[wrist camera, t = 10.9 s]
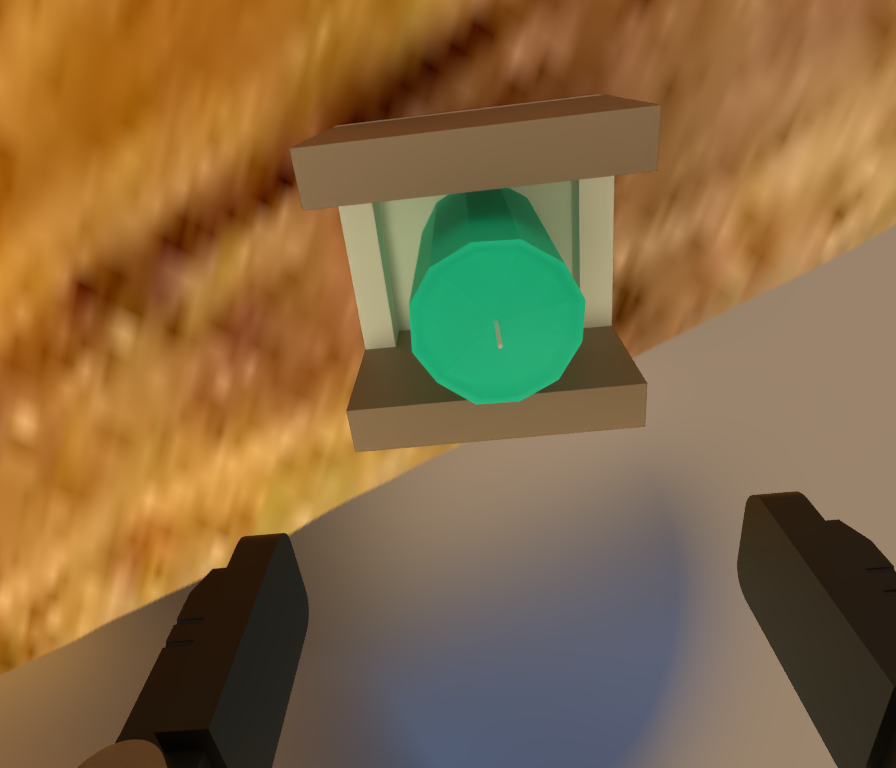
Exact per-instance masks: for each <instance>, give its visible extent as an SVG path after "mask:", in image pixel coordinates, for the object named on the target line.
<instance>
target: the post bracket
mask: <svg viewBox="0 0 896 768" xmlns="http://www.w3.org/2000/svg"><path fill="white" fill-rule="evenodd" d="M660 110H661V105H658V104H653V103H647V102H642V101H636V100H631V99H625V98H619V97H614V96H608V95H603V94H595V95H586V96H578V97H570V98H561V99H553V100H545V101H536V102H528V103H520V104H511V105H503V106H495V107H486V108H478V109H470V110H461V111H453V112H445V113H436V114H428V115H419V116H411V117H403V118H394V119H386V120H378V121H369V122H361V123H353V124H344V125H336V126H334V127H332V128H330V129H328V130H326V131H324V132H322V133H320V134H318V135H316V136H314V137H312V138H310V139H308V140H306V141H304V142H302V143H300V144H298V145H296V146H294V147H292V148H290V153H291V158H292V162H293V167H294V172H295V176H296V181H297V186H298V190H299V195H300V199H301V204H302V209H303V211H304V210H313V209H322V208H331V207H339V213H340V218H341V223H342V228H343V234H344V239H345V244H346V250H347V255H348V260H349V265H350V271H351V276H352V281H353V286H354V292H355V297H356V302H357V307H358V313H359V318H360V323H361V329H362V334H363V339H364V344H365V353H364V356H363V359H362V363H361V366H360V369H359V372H358V376H357V379H356V382H355V385H354V388H353V392H352V395H351V398H350V401H349V405H348V408H347V416H348V421H349V425H350V430H351V434H352V439H353V444H354V448H355V452H363V451H375V450H386V449H397V448H409V447H420V446H431V445H443V444H454V443H465V442H477V441H487V440H499V439H510V438H522V437H534V436H545V435H555V434H568V433H577V432H578V433H579V432H590V431H602V430H612V429H624V428H636V427H645V419H646V399H647V382H646V381H645V379H644V377H643V376H642V374H641V372H640V371H639V369H638V368H637V366H636V364H635V363H634V361H633V359H632V358H631V356H630V355H629V353H628V351H627V350H626V348H625V346H624V345H623V343H622V342H621V340H620V338H619V337H618V335H617V333H616V332H615V330H614V329H613V327H612V280H613V221H614V176H616V175H625V174H634V173H643V172H652V171H658V152H659V131H660ZM500 188H510V189H512V190H514V191H516V192H518V193H520V194H521V195H523V196H525V197H527V198H528V200H529V201H530V203H531V205H532V207H533V208H534V210H535V212H536V214H537V215H538V217H539V219H540V221H541V222H542V224H543V226H544V228H545V229H546V231H547V233H548V235H549V236H550V238H551V240H552V242H553V243H554V245H555V247H556V249H557V250H558V252H559V254H560V256H561V258H562V259H563V261H564V263H565V265H566V266H567V268H568V270H569V272H570V273H571V275H572V277H573V279H574V280H575V282H576V284H577V286H578V287H579V289H580V291H581V293H582V294H583V296H584V298H585V300H586V304H585V316H584V328H583V341H582V343H581V345H580V347H579V348H578V350H577V351H576V353H575V355H574V356H573V358H572V359H571V361H570V363H569V364H568V366H567V367H566V369H565V371H564V372H563V374H562V375H561V377H560V379H559V380H557V381H556V382H554V383H552V384H550V385H549V386H547V387H545V388H543V389H541V390H540V391H538V392H536V393H534V394H532V395H531V396H529V397H527V398H525V399H523V400H522V401H518V402H505V403H492V404H479V405H476V404H474V403H472V402H471V401H469V400H467V399H465V398H464V397H462V396H460V395H458V394H456V393H455V392H453V391H451V390H449V389H448V388H446V387H444V386H442V385H440V384H439V383H437V382H436V381H435V379H434V378H433V377H432V376H431V375H430V373H429V372H428V371H427V370H426V369H425V367H424V366H423V365H422V364H421V362H420V361H419V360H418V359H417V358H416V356H415V355H414V354H413V353H412V346H411V331H410V316H409V302H410V296H411V291H412V285H413V280H414V274H415V269H416V263H417V258H418V252H419V247H420V242H421V236H422V231H423V229H424V227H425V225H426V223H427V221H428V219H429V217H430V215H431V213H432V211H433V209H434V207H435V205H436V203H437V202H438V201H440V200H441V199H443V198H444V197H446V196H447V195H449V194H456V193H465V192H473V191H482V190H491V189H500Z"/></svg>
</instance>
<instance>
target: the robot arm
mask: <svg viewBox="0 0 896 768" xmlns="http://www.w3.org/2000/svg"><path fill="white" fill-rule="evenodd" d="M737 571H738V578H739V583H740V587H741V589H742V592H743V595H744V597H745V599H746V601H747V603H748V605H749V607H750V609H751V610H752V612H753V614H754V616H755V618H756V620H757V621H758V623H759V625H760V627H761V629H762V631H763V632H764V634H765V636H766V638H767V639H768V641H769V643H770V645H771V647H772V649H773V650H774V652H775V654H776V656H777V658H778V660H779V661H780V663H781V665H782V667H783V668H784V671H785V672H786V674H787V676H788V678H789V680H790V682H791V683H792V685H793V687H794V689H795V691H796V692H797V694H798V696H799V698H800V700H801V702H802V703H803V705H804V707H805V709H806V711H807V712H808V714H809V716H810V718H811V720H812V721H813V723H814V725H815V727H816V729H817V730H818V732H819V734H820V736H821V738H822V740H823V742H824V743H825V745H826V747H827V749H828V750H829V752H830V754H831V756H832V758H833V760H834V762H835V763H836V765H837V767H838V768H896V572H895V570H894V566H893V565H892V564H891V563H890V562H889V560H888V559H887V558H886V557H885V556H884V555H883V554H882V553H881V551H880V550H879V549H878V548H877V547H876V546H875V544H874V543H873V542H872V541H871V540H869V539H868V538H866V537H865V536H863V535H862V534H860V533H859V532H857V531H855V530H854V529H852V528H851V527H849V526H848V525H846V524H844V523H843V522H841V521H840V520H828V521H825V520H824V518H823V517H822V516H821V515H820V514H819V512H818V511H817V510H816V509H815V507H814V506H813V505H812V504H811V503H810V501H809V500H808V499H807V498H806V497H805V496H804V495H803V494H802V493H800V492H784V493H772V494H760V495H752V496H750V497H749V498H748V500H747V502H746V506H745V513H744V520H743V526H742V534H741V540H740V547H739V553H738V561H737ZM308 616H309V606H308V597H307V593H306V589H305V586H304V583H303V580H302V577H301V573H300V570H299V567H298V564H297V560H296V557H295V554H294V550H293V547H292V544H291V541H290V538H289V537H288V535H287V534H285V533H279V534H267V535H256V536H245V537H242V538H241V539H240V540H239V542H238V544H237V546H236V548H235V550H234V553H233V555H232V557H231V559H230V562H229V564H228V566H227V568H218V569H212V570H211V571H210V572H209V573H208V575H207V576H206V577H205V578H204V579H203V580H202V581H201V582H200V583H199V584H198V585H197V586H196V587H195V588H194V589H193V590H192V591H191V592H190V594H189V596H188V598H187V600H186V602H185V604H184V606H183V608H182V610H181V612H180V614H179V616H178V618H177V624H176V625H174V626H173V629H172V630H171V632H170V634H169V636H168V638H167V640H166V647H165V648H162V650H161V652H160V654H159V657H158V659H157V661H156V663H155V665H154V667H153V669H152V671H151V673H150V675H149V677H148V679H147V681H146V683H145V685H144V687H143V689H142V691H141V693H140V695H139V697H138V699H137V701H136V703H135V705H134V707H133V709H132V711H131V713H130V715H129V717H128V719H127V721H126V723H125V725H124V727H123V730H122V732H121V733H120V735H119V737H118V739H117V740H116V742H115V744H113V745H110V746H108V747H106V748H104V749H102V750H100V751H98V752H97V753H96V754H94V755H93V756H91V757H90V758H88V759H87V760H86V761H85V762H83V763H82V764H81V765H80V766H79V767H78V768H272V765H273V761H274V757H275V753H276V749H277V745H278V741H279V738H280V734H281V730H282V726H283V722H284V718H285V714H286V710H287V706H288V702H289V699H290V694H291V691H292V687H293V683H294V679H295V675H296V671H297V667H298V663H299V659H300V655H301V652H302V648H303V644H304V640H305V636H306V632H307V627H308V618H309V617H308Z"/></svg>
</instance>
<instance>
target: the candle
mask: <svg viewBox="0 0 896 768" xmlns="http://www.w3.org/2000/svg"><path fill="white" fill-rule="evenodd" d="M585 304H586V300H585V298H584V296H583V294H582V293H581V291H580V289H579V287H578V286H577V284H576V282H575V280H574V279H573V277H572V275H571V273H570V272H569V270H568V268H567V266H566V265H565V263H564V261H563V259H562V258H561V256H560V254H559V252H558V250H557V249H556V247H555V245H554V243H553V242H552V240H551V238H550V236H549V235H548V233H547V231H546V229H545V228H544V226H543V224H542V222H541V221H540V219H539V217H538V215H537V214H536V212H535V210H534V208H533V207H532V205H531V203H530V201H529V200H528V198H527V197H525V196H523V195H521V194H520V193H518V192H516V191H514V190H512V189H510V188H500V189H491V190H482V191H473V192H465V193H456V194H449V195H447V196H446V197H444V198H443V199H441V200H440V201H438V202H437V203H436V205H435V207H434V209H433V211H432V213H431V215H430V217H429V219H428V221H427V223H426V225H425V227H424V229H423V231H422V236H421V242H420V247H419V252H418V258H417V263H416V269H415V274H414V280H413V285H412V291H411V296H410V302H409V316H410V331H411V346H412V353H413V354H414V355H415V356H416V358H417V359H418V360H419V361H420V362H421V364H422V365H423V366H424V367H425V369H426V370H427V371H428V372H429V373H430V375H431V376H432V377H433V378H434V379H435V381H436V382H437V383H439V384H440V385H442V386H444V387H446V388H448V389H449V390H451V391H453V392H455V393H456V394H458V395H460V396H462V397H464V398H465V399H467V400H469V401H471V402H472V403H474V404H476V405H479V404H492V403H505V402H518V401H522V400H523V399H525V398H527V397H529V396H531V395H532V394H534V393H536V392H538V391H540V390H541V389H543V388H545V387H547V386H549V385H550V384H552V383H554V382H556V381H557V380H559V379H560V377H561V375H562V374H563V372H564V371H565V369H566V367H567V366H568V364H569V363H570V361H571V359H572V358H573V356H574V355H575V353H576V351H577V350H578V348H579V347H580V345H581V343H582V341H583V328H584V316H585Z"/></svg>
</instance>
